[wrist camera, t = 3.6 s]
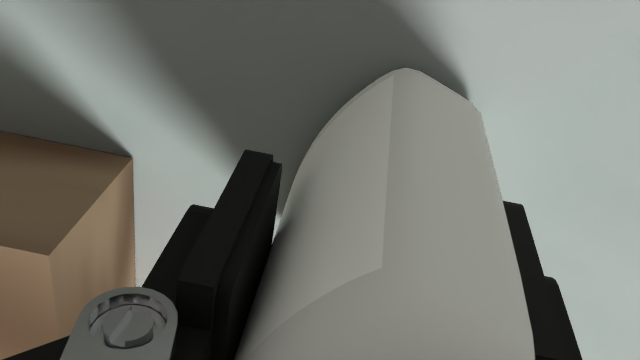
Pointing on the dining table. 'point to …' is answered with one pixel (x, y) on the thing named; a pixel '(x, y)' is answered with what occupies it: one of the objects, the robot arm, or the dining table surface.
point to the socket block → (59, 236)
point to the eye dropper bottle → (393, 239)
